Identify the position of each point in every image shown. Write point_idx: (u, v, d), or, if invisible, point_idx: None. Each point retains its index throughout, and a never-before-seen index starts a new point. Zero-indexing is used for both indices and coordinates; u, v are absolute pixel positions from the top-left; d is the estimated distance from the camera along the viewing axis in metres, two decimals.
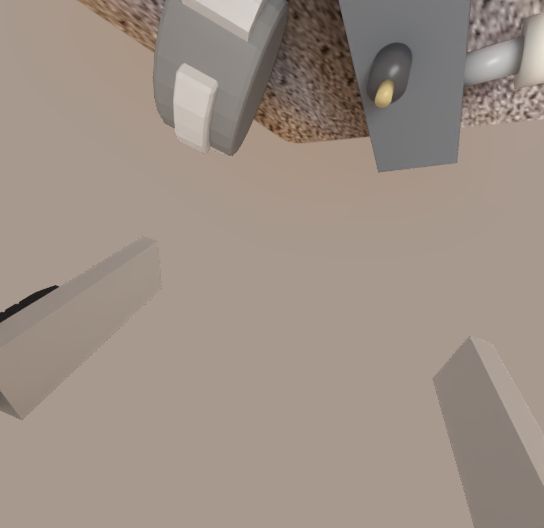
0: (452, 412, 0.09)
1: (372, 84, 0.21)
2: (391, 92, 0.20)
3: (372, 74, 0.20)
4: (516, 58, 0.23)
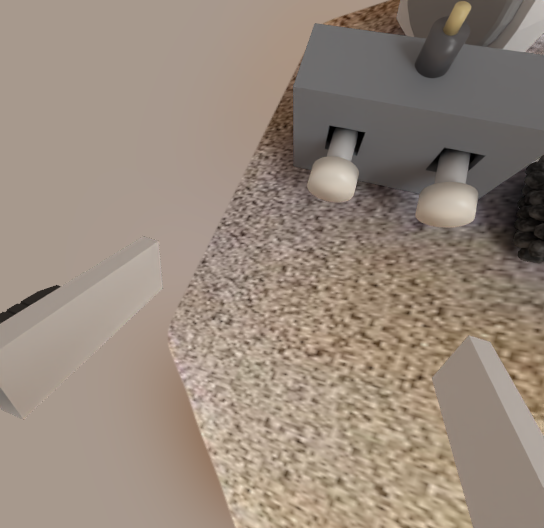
0: (451, 411, 0.09)
1: None
2: (460, 19, 0.20)
3: (466, 25, 0.22)
4: None
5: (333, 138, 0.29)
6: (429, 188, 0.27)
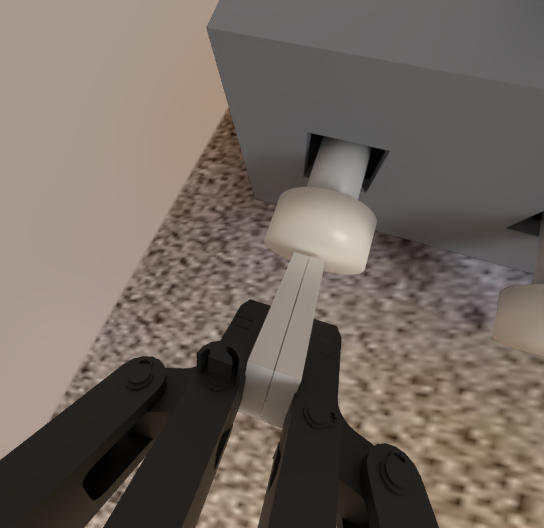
0: (292, 313, 0.12)
1: None
2: None
3: None
4: None
5: (323, 144, 0.14)
6: (542, 290, 0.11)
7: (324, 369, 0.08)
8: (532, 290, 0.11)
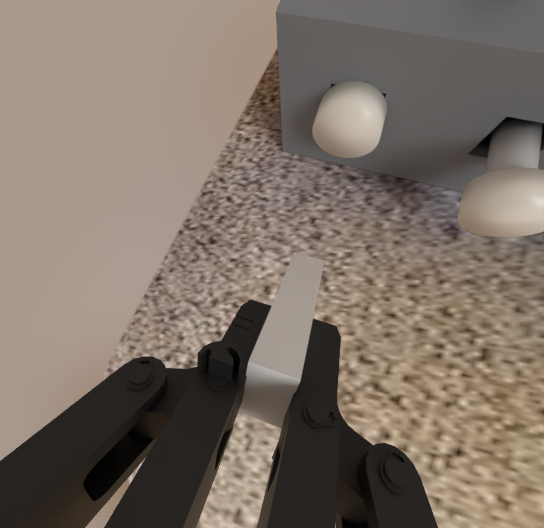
0: None
1: None
2: None
3: None
4: None
5: None
6: (484, 177, 0.18)
7: (322, 369, 0.08)
8: (478, 179, 0.18)
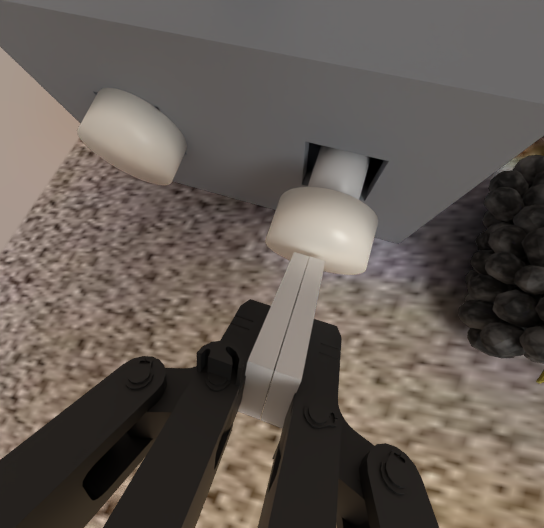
0: (292, 313, 0.12)
1: None
2: None
3: None
4: None
5: None
6: (282, 198, 0.13)
7: (323, 369, 0.08)
8: (279, 200, 0.13)
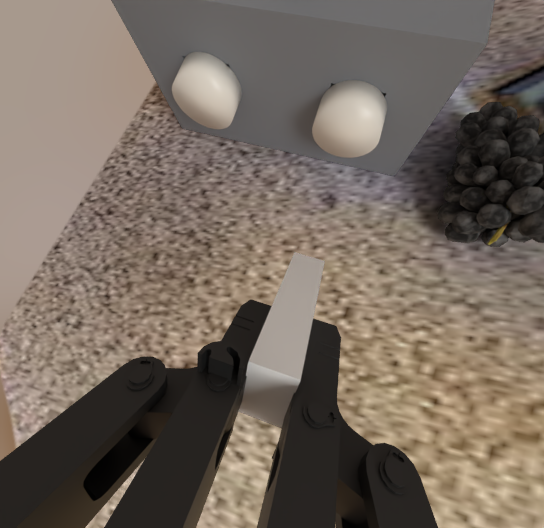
0: None
1: None
2: None
3: None
4: None
5: None
6: (324, 95, 0.20)
7: (322, 369, 0.08)
8: (322, 98, 0.20)
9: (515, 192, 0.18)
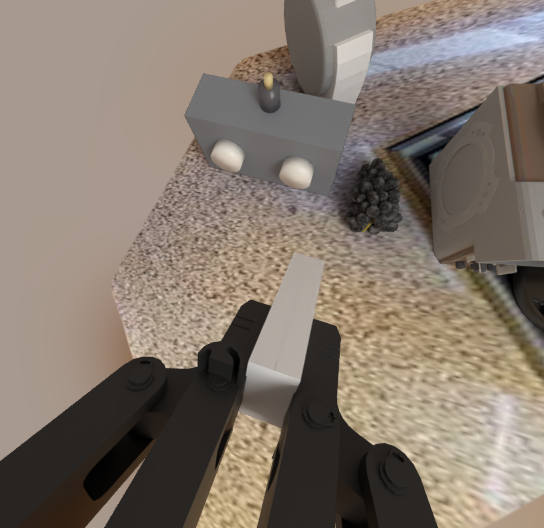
0: None
1: (274, 81, 0.36)
2: (267, 82, 0.34)
3: None
4: None
5: None
6: (284, 160, 0.42)
7: (322, 369, 0.08)
8: None
9: (367, 208, 0.40)
